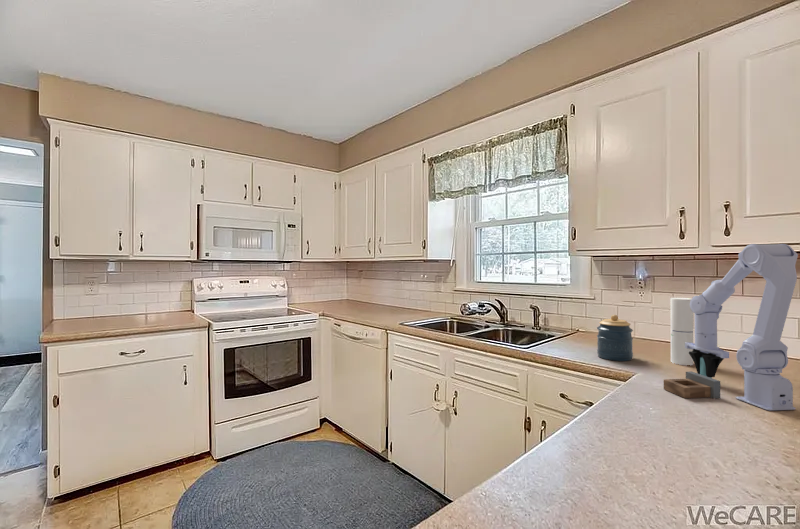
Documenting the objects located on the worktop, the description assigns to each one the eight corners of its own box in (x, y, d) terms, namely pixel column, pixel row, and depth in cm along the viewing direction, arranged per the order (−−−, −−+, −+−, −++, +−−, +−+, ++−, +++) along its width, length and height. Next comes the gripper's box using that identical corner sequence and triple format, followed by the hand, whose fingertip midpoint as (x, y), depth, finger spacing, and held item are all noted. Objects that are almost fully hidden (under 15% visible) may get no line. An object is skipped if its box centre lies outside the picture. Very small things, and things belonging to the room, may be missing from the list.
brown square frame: (710, 397, 112) (710, 386, 112) (684, 398, 112) (684, 387, 112) (688, 388, 120) (688, 378, 120) (663, 389, 120) (663, 379, 120)
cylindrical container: (683, 366, 146) (683, 299, 146) (666, 361, 153) (665, 298, 153) (698, 364, 148) (697, 299, 148) (680, 360, 155) (679, 297, 155)
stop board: (720, 398, 111) (720, 381, 111) (713, 398, 111) (713, 381, 111) (691, 387, 121) (691, 371, 121) (685, 387, 121) (685, 371, 121)
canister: (640, 359, 157) (640, 315, 157) (618, 363, 151) (618, 317, 151) (611, 352, 168) (610, 311, 168) (589, 355, 163) (589, 313, 163)
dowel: (714, 384, 124) (714, 359, 124) (705, 384, 124) (705, 359, 124) (706, 381, 127) (706, 356, 127) (697, 381, 127) (697, 357, 127)
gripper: (738, 337, 118) (738, 381, 118) (698, 329, 133) (698, 368, 133) (716, 337, 118) (717, 382, 118) (679, 329, 132) (679, 369, 132)
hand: (705, 375), depth 125 cm, fingers closed on dowel, 3 cm apart
